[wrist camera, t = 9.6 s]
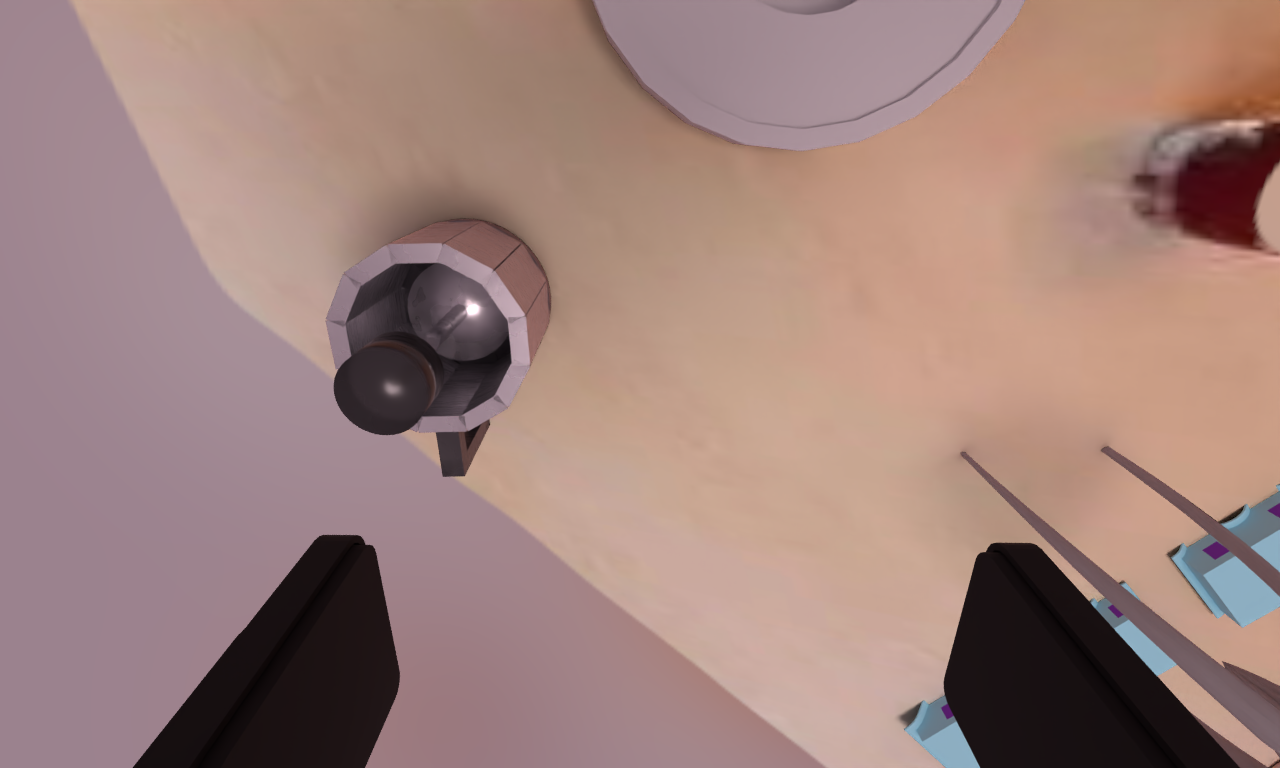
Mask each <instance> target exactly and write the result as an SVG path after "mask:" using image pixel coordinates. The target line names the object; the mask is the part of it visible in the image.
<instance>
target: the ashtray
mask: <svg viewBox="0 0 1280 768" xmlns="http://www.w3.org/2000/svg"><path fill="white" fill-rule="evenodd" d="M592 1H593V4H594V6H595V9H596V11H597V14H598V16H599V19H600V21H601V24H602V26H603V29H604V31H605V34H606V36H607V38H608V41H609V42H610V43H611V45H612V46H613V48H614V49H615V50H616V52H617V53H618V55H619V56H620V57H621V59H622V60H623V61H624V63H625V64H626V66H627V67H628V68H629V70H630V71H631V72H632V74H633V75H634V77H635V78H636V79H637V81H638V82H639V84H640V85H641V86H642V88H643V89H644V90H646V91H647V92H648V93H649V94H651V95H652V96H653V97H654V98H656V99H657V100H658V101H659V102H660V103H662V104H663V105H664V106H665V107H667V108H668V109H669V110H670V111H672V112H673V113H674V114H675V115H676V116H678V117H679V118H680V119H681V120H683V121H684V122H685V123H687V124H689V125H691V126H694V127H696V128H699V129H701V130H703V131H706V132H708V133H710V134H713V135H715V136H717V137H720V138H722V139H724V140H727V141H729V142H731V143H734V144H741V145H750V146H760V147H769V148H778V149H786V150H795V151H806V150H812V149H818V148H824V147H830V146H837V145H843V144H849V143H855V142H860V141H862V140H865V139H867V138H869V137H871V136H874V135H876V134H878V133H880V132H882V131H885V130H887V129H889V128H891V127H894V126H896V125H898V124H900V123H903V122H905V121H907V120H909V119H911V118H914V117H916V116H917V115H919V114H920V113H921V112H923V111H924V110H925V109H926V108H928V107H929V106H930V105H932V104H933V103H934V102H935V101H937V100H938V99H939V98H941V97H942V96H943V95H944V94H946V93H947V92H948V91H950V90H951V89H952V88H953V87H955V86H956V85H957V84H959V83H960V82H961V81H962V80H964V79H965V78H966V77H968V76H969V75H970V74H971V72H972V71H973V70H974V69H975V68H976V66H977V65H978V64H979V63H980V62H981V60H982V59H983V58H984V57H985V56H986V54H987V53H988V52H989V51H990V50H991V48H992V47H993V46H994V45H995V43H996V42H997V41H998V40H999V39H1000V37H1001V36H1002V35H1003V34H1004V33H1005V31H1006V30H1007V29H1008V28H1009V27H1010V25H1011V24H1012V23H1013V22H1014V21H1015V19H1016V17H1017V15H1018V13H1019V11H1020V9H1021V8H1022V6H1023V4H1024V2H1025V0H592Z"/></svg>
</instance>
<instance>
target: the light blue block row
mask: <svg viewBox="0 0 1280 768" xmlns="http://www.w3.org/2000/svg"><path fill="white" fill-rule="evenodd" d="M1276 487H1277V489H1278V490H1279V492H1277V493H1276V494H1274V495H1272V496H1271V497H1269V498H1267V499H1266V500H1264V501H1263V502H1261V503H1259V504H1258V505H1256V506H1254V507H1253V508H1251V509H1250V508H1249V507H1248V505H1247V504H1246V505H1244V508H1243V511H1242V512H1241V513H1240V514H1239V515H1238V516H1237V517H1235V518H1234V519H1232V520H1230V521H1228V522H1225V523H1221V525H1223V526H1224V527H1225V528H1227V529H1228V530H1229V531H1230V532H1232V533H1233V534H1234V535H1236V536H1237V537H1238V538H1240V539H1241V540H1242V541H1243V542H1245V543H1246V544H1247V545H1248V546H1249V547H1251V548H1252V549H1253V550H1254V551H1256V552H1257V553H1258V554H1259V555H1260V556H1262V557H1263V558H1264V559H1265V560H1266V561H1268V562H1269V563H1270V564H1271V565H1272V566H1273V567H1274V568H1276V569H1277V570H1278V571H1279V572H1280V484H1278V485H1276ZM1171 559H1172V560H1173V561H1174V563H1175V564H1176V565H1177V566H1178V568H1179V569H1180V570H1181V572H1182V573H1183V574H1184V576H1185V577H1186V578H1187V580H1188V581H1189V582H1190V584H1191V585H1192V586H1193V587H1194V589H1195V590H1196V591H1197V593H1198V594H1199V595H1200V597H1201V598H1202V599H1203V601H1204V602H1205V603H1206V605H1207V606H1208V607H1209V608H1210V610H1211V611H1212V612H1213V614H1214V615H1215V616H1216V618H1220V617H1221V616H1222V615H1223V614H1224V613H1225V614H1226V615H1227V616H1229V617H1230V618H1231V619H1232V620H1233V621H1235V622H1236V623H1237V624H1238V625H1240V626H1241V627H1242V628H1243V627H1245V626H1246V625H1248V624H1250V623H1252V622H1254V621H1255V620H1257V619H1259V618H1261V617H1262V616H1264V615H1266V614H1268V613H1269V612H1271V611H1273V610H1275V609H1277V608H1278V607H1280V597H1279V596H1278V595H1277V594H1276V593H1275V592H1274V591H1273V590H1272V589H1271V588H1270V587H1269V586H1268V585H1267V584H1266V583H1265V582H1264V581H1263V580H1261V579H1260V578H1259V577H1258V576H1257V575H1256V574H1255V573H1254V572H1253V571H1252V570H1251V569H1249V568H1248V567H1247V566H1246V565H1245V564H1244V563H1243V562H1242V561H1241V560H1239V559H1238V558H1237V557H1236V556H1235V555H1234V554H1232V553H1231V552H1230V551H1229V550H1228V549H1227V548H1225V547H1224V546H1223V545H1222V544H1221V543H1220V542H1218V541H1217V540H1216V539H1215V538H1214V537H1213V536H1211V535H1210V534H1209V535H1207V536H1205V537H1204V538H1202V539H1201V540H1199V541H1197V542H1196V543H1194V544H1192V545H1191V546H1189V547H1188V548H1187V547H1186V546H1185V545H1184V543H1182V544H1181V546H1180V549H1179V550H1178V552H1177V553H1176V554H1175V555H1173V556H1172V557H1171ZM1120 585H1121V586H1123V587H1124V588H1125V589H1126V590H1128V591H1129V592H1130V593H1131V594H1132V595H1134V596H1135V597H1136V598H1137V599H1139V598H1138V597H1137V596H1136V595H1135V593H1134V592H1133V591H1132V590H1131V588H1130V587H1129V586H1128V585H1127V583H1126V582H1124V583H1122V584H1120ZM1090 603H1091V604H1092V605H1093V606H1094V607H1095V609H1096V610H1097V611H1098V612H1099V613H1100V614H1101V615H1102V616H1103V617H1104V618H1105V620H1106V621H1107V622H1108V623H1109V624H1110V625H1111V626H1112V627H1113V628H1114V629H1115V631H1116V632H1117V633H1118V634H1119V635H1120V636H1121V637H1122V638H1123V639H1124V640H1125V642H1126V643H1127V644H1128V645H1129V646H1130V647H1131V648H1132V649H1133V650H1134V651H1135V653H1136V654H1137V655H1138V656H1139V657H1140V658H1141V659H1142V660H1143V661H1144V662H1145V664H1146V665H1147V666H1148V667H1149V668H1150V669H1151V670H1152V671H1153V672H1154V673H1155V674H1156V676H1158V675H1160V674H1162V673H1163V672H1165V671H1167V670H1169V669H1170V668H1172V667H1174V666H1176V665H1177V664H1176V663H1175V662H1174V661H1173V660H1172V659H1171V658H1169V657H1168V656H1167V655H1166V654H1165V653H1164V652H1163V651H1162V650H1161V649H1160V648H1159V647H1158V646H1156V645H1155V644H1154V643H1153V642H1152V641H1151V640H1150V639H1149V638H1148V637H1147V636H1146V635H1145V634H1143V633H1142V632H1141V631H1140V630H1139V629H1138V628H1137V627H1136V626H1135V625H1134V624H1133V623H1132V622H1131V621H1130V620H1129V619H1128V618H1126V617H1125V616H1124V615H1123V614H1122V613H1121V612H1120V611H1119V610H1118V609H1117V608H1116V607H1115V606H1114V605H1113V604H1112V603H1110V602H1109V601H1108V600H1107V599H1106V598H1104V599H1103V600H1101V601H1099V602H1097V601H1096V600H1095V599H1094V598H1093V599H1092V600H1091V602H1090ZM904 730H905V731H906V732H907V733H908V734H909V735H910V736H912V737H913V738H914V739H915V740H916V741H917V742H918V743H919V744H920V745H921V746H923V747H924V748H925V749H926V750H927V751H928V752H929V753H930V754H931V755H932V756H934V757H935V758H936V759H937V760H938V761H939V762H940V763H941V764H942V765H943V766H944V767H946V768H980V767H979V765H978V763H977V761H976V759H975V757H974V755H973V753H972V751H971V749H970V747H969V745H968V743H967V741H966V739H965V737H964V735H963V733H962V731H961V729H960V727H959V725H958V723H957V721H956V719H955V717H954V716H953V714H952V712H951V710H950V708H949V705H948V703H947V701H946V697H945V695H944V696H943V697H941V698H939V699H938V700H936V701H935V702H933V703H931V704H930V705H928V704H927V703H926V702H925V701H922V703H921V705H920V708H919V711H918V714H917V716H916V718H915V719H914V721H913V722H912V723H911V724H910V725H909V726H907V727H906V728H905V729H904Z"/></svg>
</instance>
